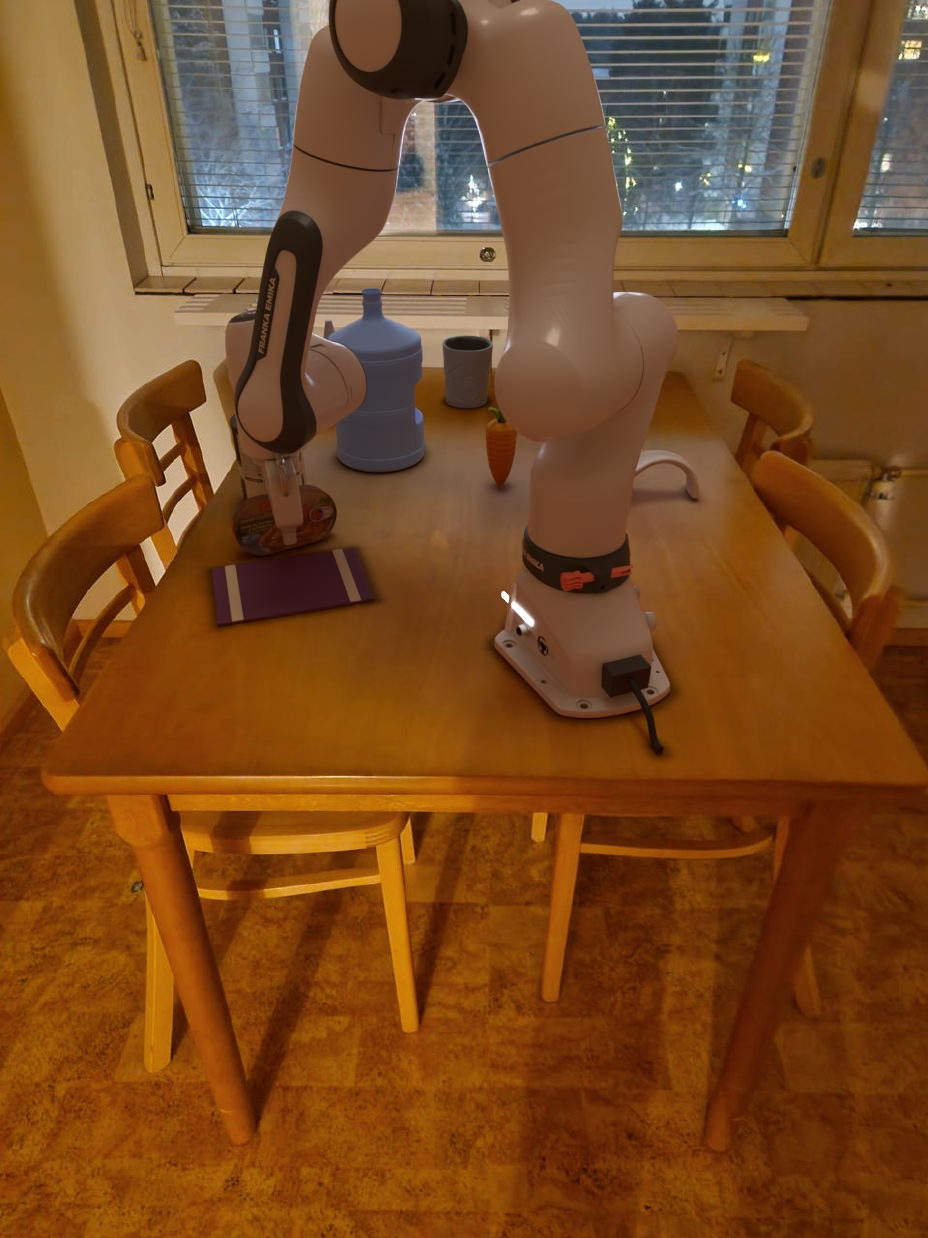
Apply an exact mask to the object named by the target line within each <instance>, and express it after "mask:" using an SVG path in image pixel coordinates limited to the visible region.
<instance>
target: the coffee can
mask: <svg viewBox="0 0 928 1238" xmlns="http://www.w3.org/2000/svg"><path fill="white" fill-rule="evenodd" d="M228 422H229V427H230V429H231V434H232V439H233V445H234V446H233V447H234V453H235V459H236V463H237V469H238V474H239V481H240V487H241V493H242V498H243V501H245V500H246V499H248V498H251V497H254V496H258V495H262V494H266V493H267V489H266V485H265V481H264V477H263V473H262V470H261V467H260V466H259V465H256V464H255V463H254V462H253V460H252V457H249V456H247V455H245V454H244V453H243V452H242V451H241V446H240V440H239V434H238V428H237V421H236V416H235V413H234V414H233V415H232V416H231V417H230V418H229V421H228ZM299 455H300V457H299V459H298V460H297V461H296V462H294V463H293V465H294V468H295V471H296V474H297V479H298V484H299V486H300V485H308V484H307V474H306V468H305V460H304V450H303V451H302V452H300V453H299Z"/></svg>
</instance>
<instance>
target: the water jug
mask: <svg viewBox="0 0 928 1238" xmlns="http://www.w3.org/2000/svg"><path fill="white" fill-rule="evenodd" d="M360 291H361V295H362V302H361V305H362V310H363V312H362V316H361V318H358V319H356V320H355V321H352V322H351V323H349V324H347V325H345V326H343V327H341V328H339V329H337V330H335V332H333V333H332V334H331V335H330V336H329V338H328V340H329V341H335V342H339V343H342V344H344V345H346V346H347V347H348V348H350V349H351V350H352V351H353V352H354V353H355V354H356V355H357V357H358V358H359V360H360V361H361V363H362V365H363V367H364V370H365V373H366V378H367V394H366V397H365V400H364V402H363V404H362V405H361V406H360V407H359V408H358V409H356V410H355V411H354V412H353V413H352V414H350V415H348V416H347V417H345V418H344V419H342V420H340V421H339V422H338V423H336V424H335V425H334V427H335V434H336V436H335V437H336V444H335V445H336V455H337V457H338V460H339V461H340V462H341V463H342V464H344V465H345V466H346V467H348V468H351V469H354V470H356V471H361V472H367V473H390V472H395V471H400V470H405V469H407V468H410V467H412V466H414V465H416V464H417V463H419V462H420V461H421V460H422V459H423V457H424V456H425V453H426V440H425V424H424V422H425V421H424V415H423V413H422V412H421V410H420V409H418V407H416V395H415V394H416V393H415V390H416V387H417V384H418V383H419V382H420V381H421V380H422V378H423V359H424V357H423V346H422V337H421V335H420V333H419V332H418V331H417V330H415V329H413V328H411V327H409V326H406V325H404V324H402V323H399V322H397V321H394V320H392V319H390V318H388V317H385V315H384V314H383V300H382V293H383V292H382V290H381V289H380V288H365V289H361V290H360Z"/></svg>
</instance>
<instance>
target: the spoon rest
mask: <svg viewBox="0 0 928 1238" xmlns="http://www.w3.org/2000/svg"><path fill="white" fill-rule="evenodd" d="M661 464H668V465H672V466H675V467H677V468H679V469H680V470H681V471H683V472H684V474H685V489H686V492H687V493H688V495H689V497H691V498H692V499H698V498H699V494H700V484H699V480H698V477H697V475H696V473H695V471H694V470H693V469H692V467H691V464H690V463H689V461H688V460H687V459H686V458H684V457H683V456H681V455H679V454H678V453H675V452H672V451H668V450H662V449H650V450H644V451H641V454H640V457H639V461H638V464H637V468H636V472H635V476H634V479H635V478H636V477H637V476H638V475H640V474H642V473H643V472H644V471H646V470H647V469H649V468H651V467H654V466H657V465H661Z"/></svg>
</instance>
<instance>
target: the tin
mask: <svg viewBox="0 0 928 1238" xmlns="http://www.w3.org/2000/svg"><path fill="white" fill-rule="evenodd" d="M299 491H300V498H301V505H302V512H303V524H302V525H300V526H296V538H297V542H296V543H295V544H290V545H286V544H284V541H283V536H282V530H281V528H278V527H277V526H276V524H275V520H274V516H273V513H272V509H271V505H270V501H269V497H268V493H266V494H262V495H258V496H254V497H251V498H248V499H246V500H245V501H244V500H243V501H242V502H241V503H240V504H238V506H237V507H236V509H235V510H234V512H233V514H232V518H231V531H232V535H233V537H234V538H235V540H236V542H237V544H238V545H239V547H240V548H241V549H243V550H244V551H245V552H247V553H248V554H251V555H253V556H269V555H274V554H277V553H280V552H283V551H284V552H285V551H287V550H291V549H294V548H298V547H303V546H307V545H311V544H314V543H317V542H319V541H322V540H323V539H325V537H327V536H328V535H329V534H330V533H331V531H332V530H333V529H334V526H335V525H336V521H337V517H338V510H337V509H338V508H337V505H336V503H335V500H334V499H333V498H332V496H331V495H330V494H329V493H327V492H326V491H325V490H323V489H322V488H320V487H319V486H315V485H313V484H307V485H300V486H299Z"/></svg>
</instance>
